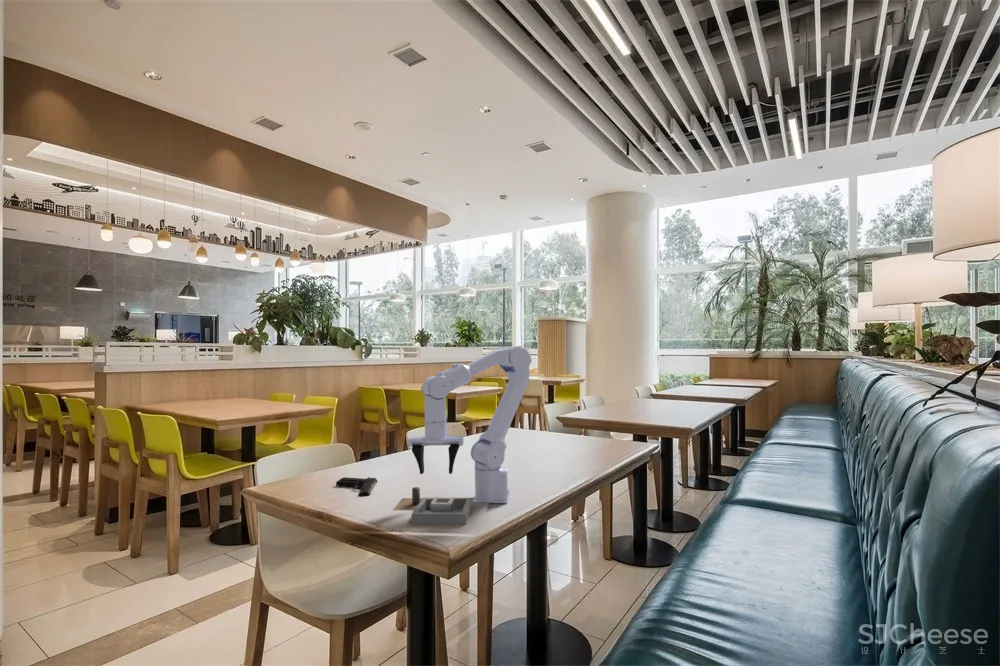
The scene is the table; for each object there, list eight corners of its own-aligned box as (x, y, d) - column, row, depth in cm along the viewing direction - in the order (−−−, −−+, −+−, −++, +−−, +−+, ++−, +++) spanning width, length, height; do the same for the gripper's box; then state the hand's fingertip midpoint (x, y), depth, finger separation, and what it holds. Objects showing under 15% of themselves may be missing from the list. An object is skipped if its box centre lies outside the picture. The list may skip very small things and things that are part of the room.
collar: (454, 511, 127) (454, 497, 127) (451, 518, 121) (451, 503, 122) (434, 511, 127) (434, 497, 127) (430, 518, 122) (430, 503, 122)
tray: (472, 509, 130) (472, 497, 130) (465, 526, 117) (465, 514, 117) (423, 509, 131) (423, 497, 131) (411, 526, 118) (411, 514, 118)
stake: (437, 500, 138) (437, 483, 138) (430, 512, 128) (430, 493, 128) (402, 500, 139) (402, 483, 139) (392, 512, 129) (392, 493, 129)
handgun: (325, 492, 141) (370, 490, 142) (339, 476, 159) (379, 475, 160) (325, 501, 141) (370, 499, 142) (339, 484, 158) (379, 482, 160)
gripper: (405, 424, 128) (405, 477, 128) (461, 423, 128) (461, 476, 127) (411, 420, 135) (411, 470, 135) (464, 419, 135) (464, 469, 134)
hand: (436, 472), depth 131 cm, fingers open, 7 cm apart
